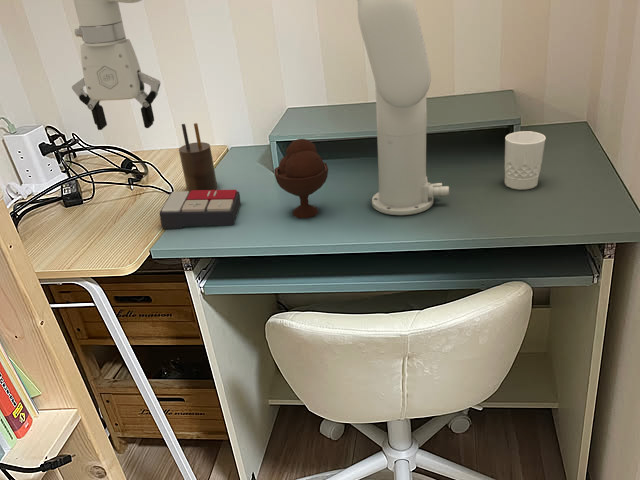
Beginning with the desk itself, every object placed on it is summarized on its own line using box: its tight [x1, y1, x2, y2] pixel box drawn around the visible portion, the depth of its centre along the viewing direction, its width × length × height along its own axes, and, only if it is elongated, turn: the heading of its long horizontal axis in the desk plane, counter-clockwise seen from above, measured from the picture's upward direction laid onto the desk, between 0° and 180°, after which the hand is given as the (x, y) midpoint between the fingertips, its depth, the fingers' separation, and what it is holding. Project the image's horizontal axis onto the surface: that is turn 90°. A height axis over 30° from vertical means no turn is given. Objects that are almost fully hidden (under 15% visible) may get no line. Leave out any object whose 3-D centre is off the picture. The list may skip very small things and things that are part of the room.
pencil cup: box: [178, 122, 218, 192], centre depth 145 cm, size 7×7×16 cm
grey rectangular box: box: [159, 189, 242, 230], centre depth 135 cm, size 11×4×15 cm
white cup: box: [504, 130, 547, 191], centre depth 134 cm, size 8×8×10 cm
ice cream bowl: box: [274, 138, 329, 219], centre depth 129 cm, size 11×11×15 cm
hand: (125, 127), depth 127 cm, fingers open, 9 cm apart
